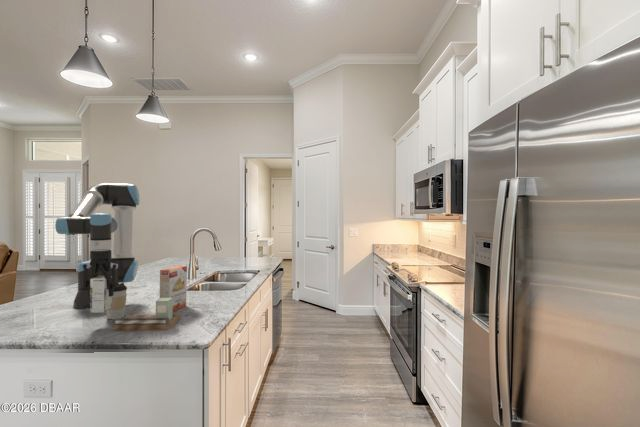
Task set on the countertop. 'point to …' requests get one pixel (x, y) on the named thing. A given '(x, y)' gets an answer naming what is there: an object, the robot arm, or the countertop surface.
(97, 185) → the robot arm
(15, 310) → the countertop surface
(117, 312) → the coffee cup
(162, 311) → the pale green box
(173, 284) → the cracker box
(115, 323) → the shelf board
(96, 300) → the syrup box
